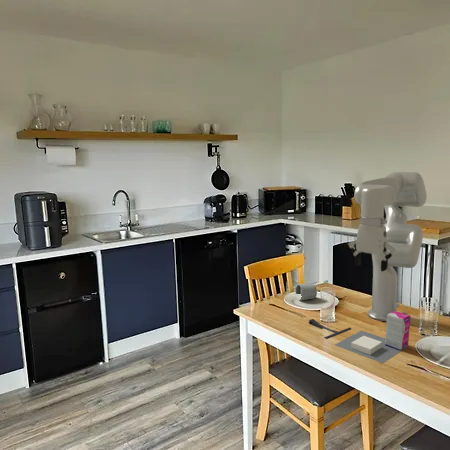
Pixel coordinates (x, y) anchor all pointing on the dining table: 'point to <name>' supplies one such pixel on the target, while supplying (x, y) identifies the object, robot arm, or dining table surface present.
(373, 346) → the tile
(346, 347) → the mat
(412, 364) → the dining table surface
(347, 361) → the dining table surface
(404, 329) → the supplement box
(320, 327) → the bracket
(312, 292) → the ceramic mug
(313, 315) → the dining table surface
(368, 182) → the robot arm
